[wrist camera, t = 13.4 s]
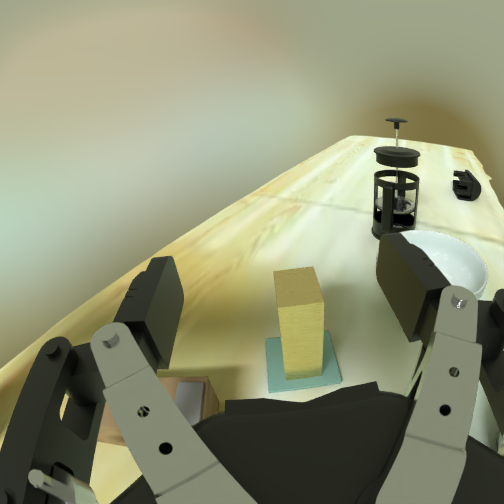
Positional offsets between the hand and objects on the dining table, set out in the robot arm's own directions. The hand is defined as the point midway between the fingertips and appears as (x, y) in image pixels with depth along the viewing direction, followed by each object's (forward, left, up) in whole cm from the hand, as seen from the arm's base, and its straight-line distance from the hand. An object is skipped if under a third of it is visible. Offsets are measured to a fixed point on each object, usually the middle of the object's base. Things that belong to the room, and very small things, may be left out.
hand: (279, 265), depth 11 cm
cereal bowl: (+22, +19, -22) cm, 37 cm away
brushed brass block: (+2, +12, -22) cm, 25 cm away
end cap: (+59, +56, -22) cm, 84 cm away
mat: (+2, +12, -22) cm, 25 cm away
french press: (+25, +39, -22) cm, 52 cm away
